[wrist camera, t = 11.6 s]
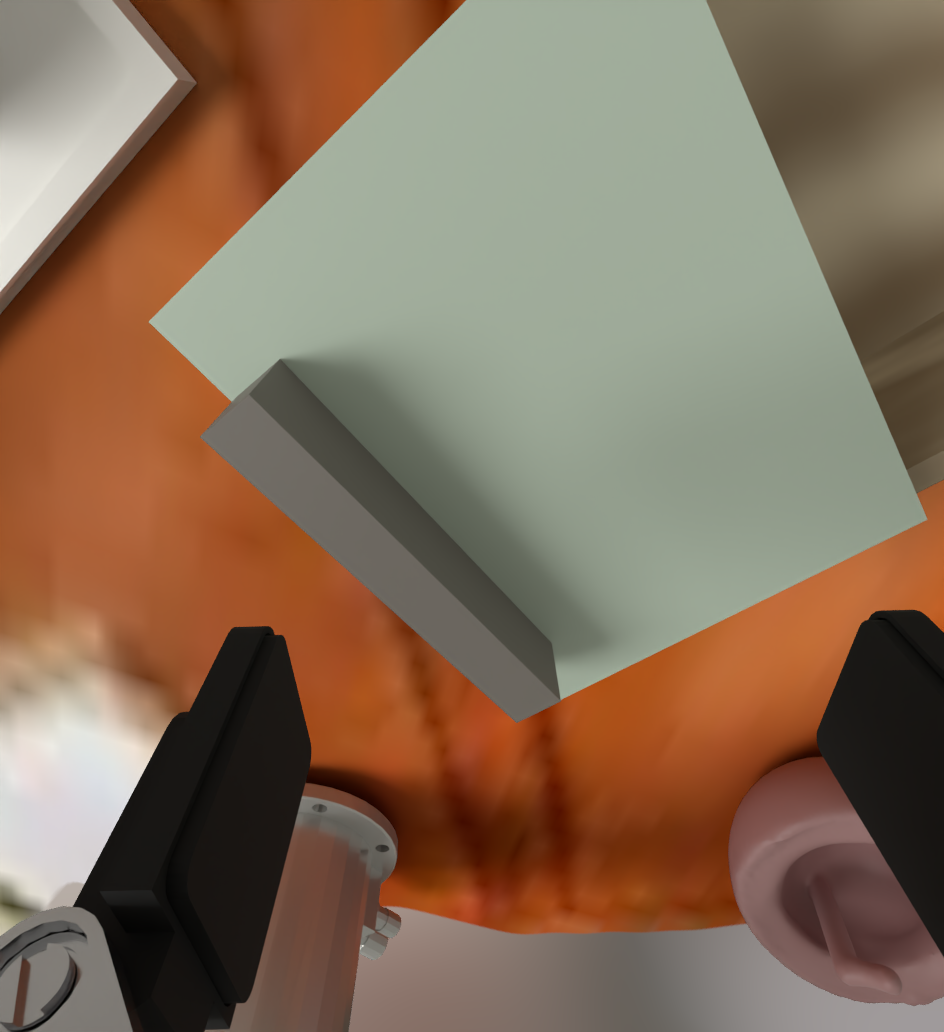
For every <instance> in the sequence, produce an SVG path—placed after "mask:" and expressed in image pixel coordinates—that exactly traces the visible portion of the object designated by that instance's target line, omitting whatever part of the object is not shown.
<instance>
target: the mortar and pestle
mask: <svg viewBox="0 0 944 1032" xmlns="http://www.w3.org/2000/svg"><path fill="white" fill-rule="evenodd" d="M728 855H729V869H730V876H731V882H732V887H733V891H734V895H735V898H736V901H737V904H738V907H739V909H740V911H741V914H742V916H743V917H744V919H745V921H746V923H747V925H748V926H749V928H750V929H751V931H752V933H753V934H754V935H755V936H756V938H757V939H758V940H759V942H760V943H761V944H762V945H763V946H764V947H765V948H766V949H767V950H768V951H769V952H770V953H771V954H772V955H773V956H774V957H775V958H776V959H778V960H779V961H780V962H781V963H782V964H783V965H784V966H785V967H787V968H788V969H790V970H791V971H792V972H794V973H795V974H796V975H798V976H799V977H801V978H802V979H804V980H806V981H808V982H810V983H811V984H813V985H815V986H817V987H819V988H821V989H823V990H825V991H828V992H830V993H832V994H834V995H837V996H840V997H845V998H848V999H851V1000H854V1001H860V1002H865V1003H906V1004H908V1005H912V1006H916V1005H919V1004H920V1005H925V1004H929V1003H931V1002H933V1001H934V1000H936V999H939V998H942V997H943V996H944V957H943V955H942V954H941V952H940V950H939V949H938V947H937V945H936V944H935V942H934V940H933V939H932V937H931V935H930V934H929V932H928V930H927V929H926V927H925V925H924V924H923V922H922V920H921V919H920V917H919V915H918V914H917V912H916V911H915V909H914V907H913V906H912V904H911V902H910V901H909V899H908V897H907V896H906V894H905V892H904V891H903V889H902V887H901V886H900V884H899V882H898V881H897V879H896V877H895V876H894V874H893V872H892V871H891V869H890V867H889V866H888V864H887V862H886V861H885V859H884V857H883V856H882V854H881V852H880V851H879V849H878V847H877V846H876V844H875V842H874V841H873V839H872V837H871V836H870V834H869V832H868V831H867V829H866V828H865V826H864V824H863V823H862V821H861V819H860V818H859V816H858V814H857V813H856V811H855V809H854V808H853V806H852V804H851V803H850V801H849V799H848V798H847V796H846V794H845V793H844V791H843V789H842V788H841V786H840V784H839V783H838V781H837V779H836V778H835V776H834V774H833V773H832V771H831V769H830V768H829V766H828V764H827V763H826V761H825V759H824V758H823V757H810V758H804V759H800V760H796V761H792V762H789V763H786V764H784V765H782V766H780V767H778V768H775V769H773V770H772V771H771V772H769V773H768V774H766V775H765V776H763V777H762V778H761V779H760V780H758V781H757V782H756V783H755V784H754V785H753V786H752V787H751V788H750V790H749V791H748V792H747V794H746V795H745V796H744V798H743V799H742V801H741V803H740V805H739V807H738V809H737V811H736V814H735V817H734V819H733V823H732V827H731V831H730V838H729V850H728Z"/></svg>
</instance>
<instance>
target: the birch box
mask: <svg viewBox="0 0 944 1032" xmlns="http://www.w3.org/2000/svg"><path fill="white" fill-rule="evenodd" d="M706 2H707V4H708V6H709V9H710V11H711V13H712V16H713V18H714V20H715V23H716V25H717V27H718V30H719V32H720V34H721V37H722V39H723V41H724V44H725V46H726V48H727V51H728V53H729V55H730V58H731V60H732V62H733V65H734V67H735V70H736V72H737V74H738V77H739V79H740V81H741V84H742V86H743V88H744V91H745V93H746V95H747V98H748V100H749V102H750V105H751V107H752V109H753V112H754V114H755V116H756V119H757V121H758V123H759V126H760V128H761V130H762V133H763V135H764V137H765V140H766V142H767V145H768V147H769V149H770V152H771V154H772V156H773V159H774V161H775V163H776V166H777V168H778V170H779V173H780V175H781V177H782V180H783V182H784V184H785V187H786V189H787V191H788V194H789V196H790V198H791V201H792V203H793V205H794V208H795V210H796V213H797V215H798V217H799V220H800V222H801V224H802V227H803V229H804V231H805V234H806V236H807V238H808V241H809V243H810V245H811V248H812V250H813V252H814V255H815V257H816V259H817V262H818V264H819V266H820V269H821V271H822V273H823V276H824V278H825V280H826V283H827V285H828V288H829V290H830V292H831V295H832V297H833V299H834V302H835V304H836V306H837V309H838V311H839V313H840V316H841V318H842V320H843V323H844V325H845V327H846V330H847V332H848V334H849V337H850V339H851V341H852V344H853V346H854V348H855V351H856V353H857V355H858V358H859V360H860V363H861V365H862V367H863V370H864V372H865V374H866V377H867V379H868V381H869V384H870V386H871V388H872V391H873V393H874V395H875V398H876V400H877V402H878V405H879V407H880V409H881V412H882V414H883V416H884V419H885V421H886V423H887V426H888V428H889V431H890V433H891V435H892V438H893V440H894V442H895V445H896V447H897V449H898V452H899V454H900V456H901V459H902V461H903V463H904V466H905V468H906V470H907V473H908V475H909V477H910V480H911V482H912V484H913V487H914V489H915V491H916V493H918V492H920V491H922V490H924V489H926V488H928V487H930V486H932V485H934V484H936V483H938V482H940V481H942V480H944V0H706Z"/></svg>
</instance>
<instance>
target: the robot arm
mask: <svg viewBox="0 0 944 1032" xmlns="http://www.w3.org/2000/svg"><path fill="white" fill-rule="evenodd" d="M817 744H818V747H819V750H820V752H821V754H822V756H823V758H824V759H825V761H826V763H827V764H828V766H829V768H830V769H831V771H832V773H833V774H834V776H835V778H836V779H837V781H838V783H839V784H840V786H841V788H842V789H843V791H844V793H845V794H846V796H847V798H848V799H849V801H850V803H851V804H852V806H853V808H854V809H855V811H856V813H857V814H858V816H859V818H860V819H861V821H862V823H863V824H864V826H865V828H866V829H867V831H868V832H869V834H870V836H871V837H872V839H873V841H874V842H875V844H876V846H877V847H878V849H879V851H880V852H881V854H882V856H883V857H884V859H885V861H886V862H887V864H888V866H889V867H890V869H891V871H892V872H893V874H894V876H895V877H896V879H897V881H898V882H899V884H900V886H901V887H902V889H903V891H904V892H905V894H906V896H907V897H908V899H909V901H910V902H911V904H912V906H913V907H914V909H915V911H916V912H917V914H918V915H919V917H920V919H921V920H922V922H923V924H924V925H925V927H926V929H927V930H928V932H929V934H930V935H931V937H932V939H933V940H934V942H935V944H936V945H937V947H938V949H939V950H940V952H941V954H942V955H943V957H944V633H943V632H942V631H941V630H940V629H939V628H938V627H937V626H936V625H935V624H934V623H933V622H932V621H931V620H930V619H929V618H928V617H927V616H926V615H925V614H923V613H922V612H920V611H917V610H890V611H876V612H875V613H873V614H872V615H871V616H870V618H869V620H866V621H864V622H863V623H862V624H861V625H860V627H859V629H858V632H857V634H856V637H855V639H854V642H853V644H852V647H851V649H850V652H849V654H848V656H847V659H846V661H845V664H844V666H843V669H842V671H841V674H840V676H839V679H838V681H837V683H836V686H835V688H834V691H833V693H832V696H831V698H830V701H829V703H828V706H827V708H826V710H825V713H824V715H823V718H822V720H821V723H820V725H819V728H818V731H817ZM310 762H311V743H310V738H309V734H308V730H307V726H306V722H305V718H304V714H303V710H302V706H301V702H300V698H299V694H298V690H297V686H296V681H295V677H294V673H293V669H292V665H291V661H290V657H289V653H288V649H287V645H286V641H285V638H284V637H283V635H274V632H273V630H272V628H271V627H268V626H262V627H234V628H233V629H231V630H230V632H229V633H228V635H227V637H226V639H225V641H224V643H223V645H222V647H221V649H220V651H219V653H218V655H217V657H216V659H215V661H214V663H213V665H212V667H211V669H210V671H209V673H208V675H207V677H206V679H205V681H204V683H203V685H202V687H201V689H200V691H199V693H198V695H197V697H196V699H195V701H194V703H193V705H192V707H191V709H190V711H189V712H182V713H179V714H178V715H176V716H175V717H174V718H173V719H172V721H171V722H170V724H169V725H168V727H167V729H166V731H165V732H164V734H163V736H162V738H161V740H160V742H159V744H158V746H157V748H156V750H155V751H154V753H153V755H152V757H151V759H150V761H149V763H148V765H147V767H146V769H145V770H144V772H143V774H142V776H141V778H140V780H139V782H138V784H137V786H136V788H135V789H134V791H133V793H132V795H131V797H130V799H129V801H128V803H127V805H126V807H125V809H124V810H123V812H122V814H121V816H120V818H119V820H118V822H117V824H116V826H115V828H114V829H113V831H112V833H111V835H110V837H109V839H108V841H107V843H106V845H105V847H104V848H103V850H102V852H101V854H100V856H99V858H98V860H97V862H96V864H95V866H94V868H93V869H92V871H91V873H90V875H89V877H88V879H87V881H86V883H85V885H84V887H83V888H82V891H81V893H80V894H79V896H78V898H77V900H76V902H75V904H74V906H73V907H65V906H63V907H58V908H54V909H50V910H46V911H42V912H39V913H37V914H35V915H33V916H31V917H29V918H27V919H25V920H23V921H21V922H19V923H18V924H16V925H15V926H14V927H12V928H11V929H10V930H8V931H7V932H6V933H4V934H3V935H2V936H0V1032H348V1031H349V1025H350V1017H351V1010H352V1002H353V996H354V989H355V981H356V973H357V966H358V960H359V954H361V955H363V956H365V957H367V958H369V959H371V960H375V959H378V958H379V957H380V956H381V955H382V954H383V952H384V951H385V949H386V946H387V942H388V938H393V937H394V936H395V935H397V933H398V932H399V930H400V926H401V918H400V916H399V915H398V914H396V913H394V912H393V911H391V910H389V909H387V908H383V907H382V906H380V904H379V895H380V887H381V883H383V882H384V881H385V880H386V879H387V878H388V877H389V876H390V874H391V873H392V871H393V870H394V868H395V864H396V860H397V851H398V839H397V835H396V831H395V829H394V828H393V826H392V825H391V823H390V822H389V820H388V819H387V818H386V817H385V816H384V815H383V814H382V813H381V812H380V811H379V810H378V809H376V808H375V807H373V806H372V805H370V804H369V803H367V802H366V801H364V800H362V799H360V798H358V797H356V796H354V795H352V794H349V793H347V792H344V791H341V790H338V789H334V788H331V787H327V786H322V785H317V784H312V783H306V779H307V775H308V771H309V767H310Z"/></svg>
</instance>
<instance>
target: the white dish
mask: <svg viewBox="0 0 944 1032" xmlns="http://www.w3.org/2000/svg"><path fill="white" fill-rule="evenodd" d="M196 84H197V82H196V81H195V80H194V79H193V78H192V76H191V75H190V74H189V73H188V71H187V70H186V69H185V68H184V67H183V65H182V64H181V63H180V62H179V61H178V59H177V58H176V57H175V56H174V54H173V53H172V52H171V51H170V50H169V48H168V47H167V46H166V45H165V44H164V42H163V41H162V40H161V39H160V37H159V36H158V35H157V34H156V33H155V31H154V30H153V29H152V28H151V27H150V25H149V24H148V23H147V22H146V20H145V19H144V18H143V17H142V16H141V14H140V13H139V12H138V11H137V10H136V8H135V7H134V6H133V5H132V3H131V2H130V1H129V0H0V314H1V313H2V312H3V311H4V309H5V308H6V307H7V306H8V305H9V303H10V302H11V301H12V300H13V299H14V298H15V296H16V295H17V294H18V293H19V292H20V291H21V289H22V288H23V287H24V286H25V285H26V283H27V282H28V281H29V280H30V279H31V278H32V276H33V275H34V274H35V273H36V272H37V271H38V269H39V268H40V267H41V266H42V265H43V264H44V262H45V261H46V260H47V259H48V258H49V256H50V255H51V254H52V253H53V252H54V251H55V249H56V248H57V247H58V246H59V245H60V244H61V242H62V241H63V240H64V239H65V238H66V236H67V235H68V234H69V233H70V232H71V231H72V229H73V228H74V227H75V226H76V225H77V224H78V222H79V221H80V220H81V219H82V218H83V217H84V215H85V214H86V213H87V212H88V211H89V209H90V208H91V207H92V206H93V205H94V204H95V202H96V201H97V200H98V199H99V198H100V197H101V195H102V194H103V193H104V192H105V191H106V189H107V188H108V187H109V186H110V185H111V184H112V182H113V181H114V180H115V179H116V178H117V177H118V175H119V174H120V173H121V172H122V171H123V169H124V168H125V167H126V166H127V165H128V164H129V162H130V161H131V160H132V159H133V158H134V157H135V155H136V154H137V153H138V152H139V151H140V150H141V148H142V147H143V146H144V145H145V144H146V142H147V141H148V140H149V139H150V138H151V137H152V135H153V134H154V133H155V132H156V131H157V130H158V128H159V127H160V126H161V125H162V124H163V122H164V121H165V120H166V119H167V118H168V117H169V115H170V114H171V113H172V112H173V111H174V110H175V108H176V107H177V106H178V105H179V104H180V103H181V101H182V100H183V99H184V98H185V97H186V95H187V94H188V93H189V92H190V91H191V90H192V88H193V87H194V86H195V85H196Z"/></svg>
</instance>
